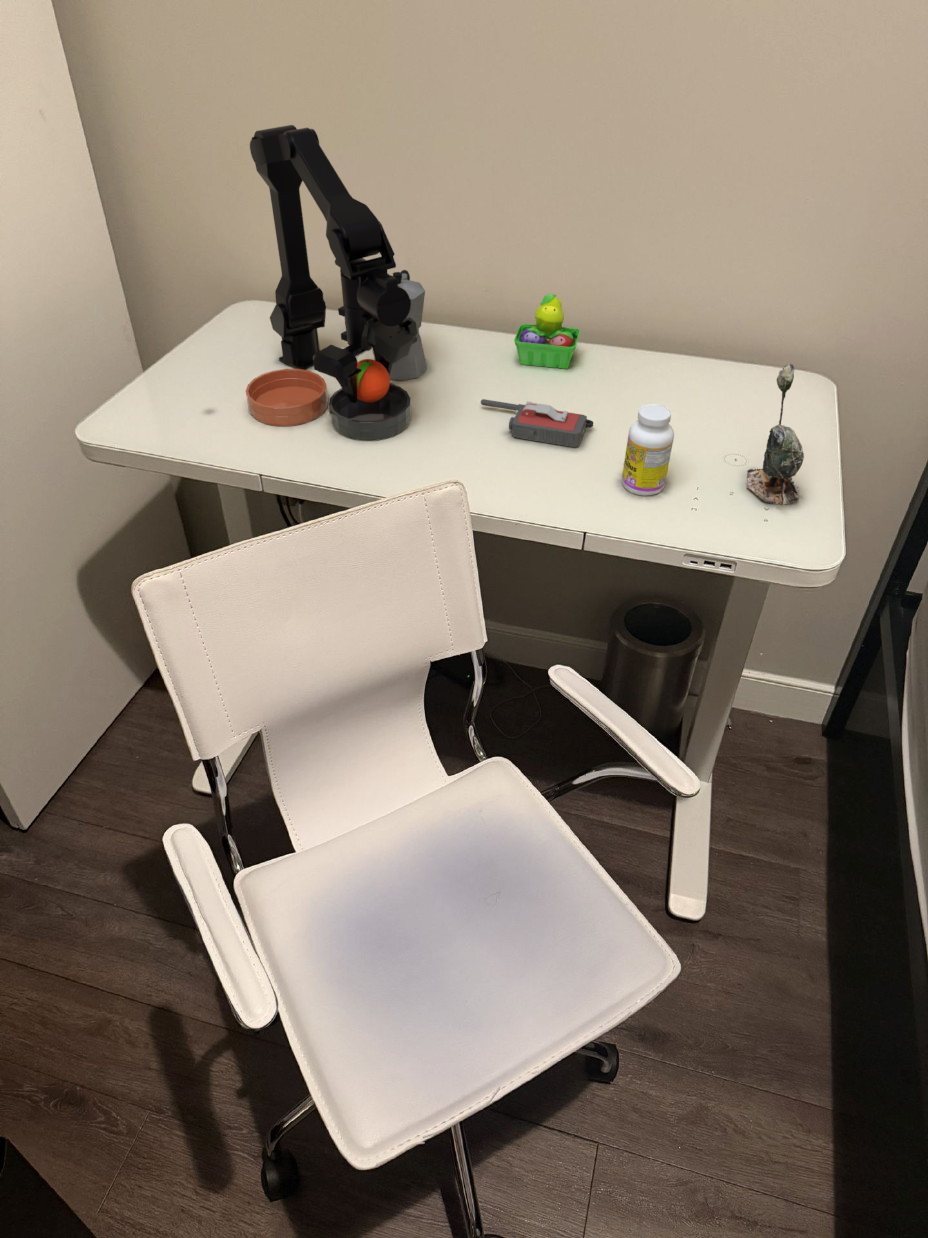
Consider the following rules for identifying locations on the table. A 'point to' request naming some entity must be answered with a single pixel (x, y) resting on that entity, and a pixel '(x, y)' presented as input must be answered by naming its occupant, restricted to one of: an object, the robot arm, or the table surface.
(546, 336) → the fruit basket
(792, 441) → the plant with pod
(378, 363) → the clementine
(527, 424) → the walkie-talkie
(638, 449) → the supplement bottle
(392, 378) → the coffeepot
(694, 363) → the table surface
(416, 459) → the table surface
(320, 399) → the terracotta bowl
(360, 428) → the charcoal bowl
